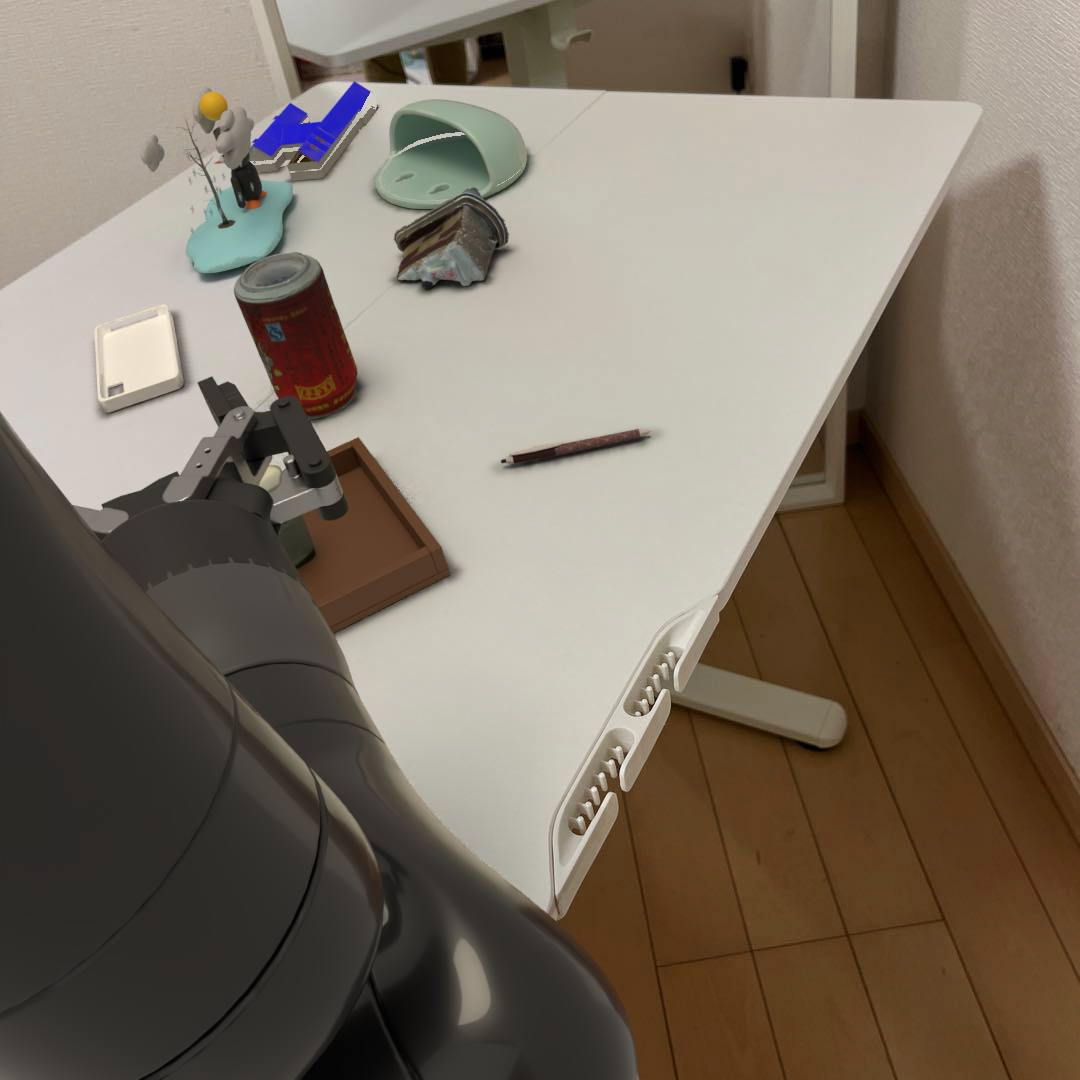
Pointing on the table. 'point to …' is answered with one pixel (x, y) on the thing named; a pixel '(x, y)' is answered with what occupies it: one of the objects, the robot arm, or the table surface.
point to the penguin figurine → (230, 192)
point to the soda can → (298, 332)
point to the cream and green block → (290, 525)
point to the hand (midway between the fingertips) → (119, 435)
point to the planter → (449, 154)
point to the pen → (571, 446)
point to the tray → (368, 544)
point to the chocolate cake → (451, 241)
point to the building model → (311, 136)
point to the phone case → (137, 359)
